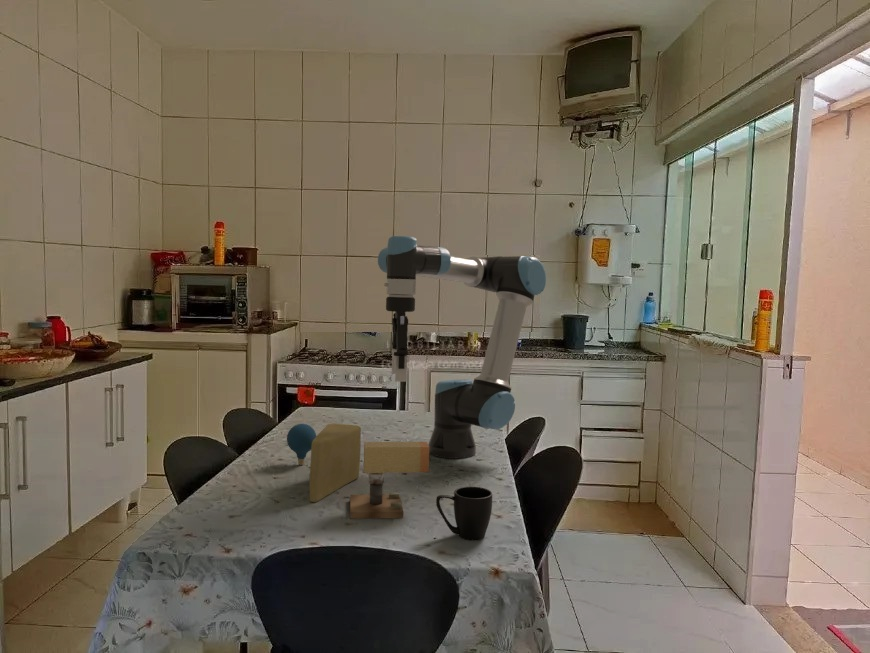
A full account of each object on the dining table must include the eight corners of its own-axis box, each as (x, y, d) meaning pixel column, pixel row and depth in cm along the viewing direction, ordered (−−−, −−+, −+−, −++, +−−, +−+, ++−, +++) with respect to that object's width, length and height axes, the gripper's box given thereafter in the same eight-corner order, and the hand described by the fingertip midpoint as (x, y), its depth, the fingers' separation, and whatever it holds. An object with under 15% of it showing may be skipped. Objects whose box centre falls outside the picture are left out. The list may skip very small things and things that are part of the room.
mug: (433, 528, 145) (435, 486, 144) (487, 528, 145) (489, 486, 145) (436, 543, 136) (438, 498, 136) (493, 543, 137) (495, 498, 137)
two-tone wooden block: (363, 485, 152) (364, 447, 151) (363, 478, 157) (364, 441, 156) (428, 484, 154) (429, 447, 153) (425, 478, 159) (426, 441, 158)
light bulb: (309, 470, 184) (310, 428, 184) (281, 467, 186) (282, 426, 185) (320, 462, 193) (321, 422, 192) (293, 459, 194) (294, 419, 193)
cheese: (331, 505, 157) (332, 443, 156) (293, 501, 159) (294, 440, 158) (360, 478, 179) (361, 424, 178) (327, 475, 181) (328, 421, 180)
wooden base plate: (399, 500, 162) (399, 476, 162) (403, 517, 150) (403, 492, 150) (350, 500, 161) (350, 476, 160) (350, 518, 149) (350, 492, 148)
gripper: (383, 294, 182) (381, 370, 184) (389, 297, 157) (386, 384, 159) (410, 295, 183) (408, 370, 185) (420, 298, 158) (417, 385, 160)
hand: (398, 377), depth 172 cm, fingers open, 13 cm apart
